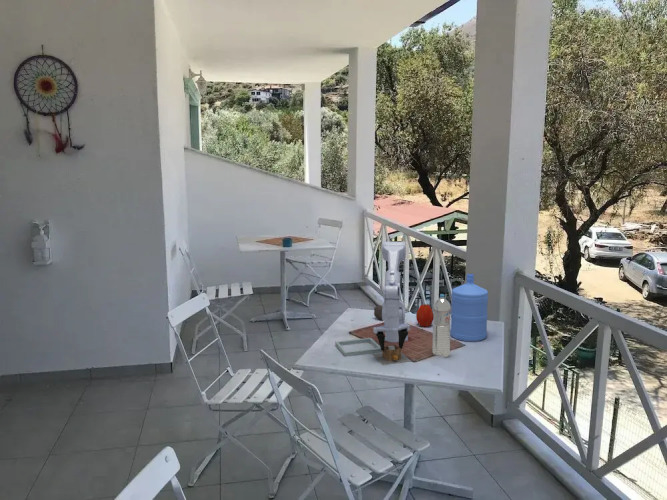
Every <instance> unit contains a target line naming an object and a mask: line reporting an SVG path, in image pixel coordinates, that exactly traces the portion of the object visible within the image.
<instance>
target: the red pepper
mask: <svg viewBox="0 0 667 500" xmlns="http://www.w3.org/2000/svg"><path fill="white" fill-rule="evenodd" d="M433 314H434V310H432V307H431V306H430V305H429V304H426V303H424V304H421V305H420V306H419V307H418V309H417V311H416V316H415V317H416V322H417V324H418V325H419V326H420V327H424V328H427V327H431V325H433Z"/></svg>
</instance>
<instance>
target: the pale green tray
mask: <svg viewBox="0 0 667 500" xmlns="http://www.w3.org/2000/svg"><path fill="white" fill-rule="evenodd" d="M334 343H335V345H334V346H335V347H336V348H337V349H338V350H339V351H340V353H341V354H342V355H343V356H344V357H345V358H346V357H352V356H353V357H354V356H361V355H370V354H371V355H372V354H379V353H382V350H381V348H380V344H378V342H376V341H375V340H374V339H373V338H372V337H367V338H357V339H349V340H348V339H347V340H338V341H335V342H334ZM366 343H367V344H368V343H370V344H371V345H372V347H374V348H367V349H359V350H352V351H351V350H349V351H347V350H346V349H345V348H344V347H343V346H347V345H348V346H349V345H355V344H357V345H358V344H366Z"/></svg>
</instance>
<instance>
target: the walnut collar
mask: <svg viewBox="0 0 667 500" xmlns="http://www.w3.org/2000/svg"><path fill="white" fill-rule="evenodd" d="M388 346H389V345H384V351H382V352H381V353H382V356H383V357H384V358H385V359H386V360H387V361H392V360H400V359H401V353H402V349H400V348H399V346H397V345H396V344H392V345H390V346H395V350H388Z"/></svg>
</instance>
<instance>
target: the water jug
mask: <svg viewBox="0 0 667 500" xmlns="http://www.w3.org/2000/svg"><path fill="white" fill-rule="evenodd" d="M474 276H475V275H474V274H473V273H468V274H466V283H464V284H461V285H459V286H457V287H454V288H452V290H451V310H450V336H451V337H452V338H454V339H456V340H458V341H464V342H479V341H484V340H485V339H487V336H488V331H487V330H488V328H487V325H488V303H489V292H488V290H487V289H486V288H484V287H482V286H479V285H477V284H475V281H474V280H475V278H474Z"/></svg>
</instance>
